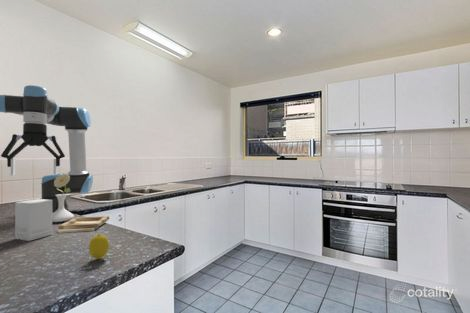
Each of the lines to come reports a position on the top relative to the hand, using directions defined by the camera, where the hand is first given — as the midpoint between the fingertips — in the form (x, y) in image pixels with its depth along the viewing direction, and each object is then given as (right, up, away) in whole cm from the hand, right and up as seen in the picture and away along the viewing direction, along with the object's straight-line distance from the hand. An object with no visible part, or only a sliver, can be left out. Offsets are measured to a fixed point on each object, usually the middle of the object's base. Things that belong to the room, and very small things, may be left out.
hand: (34, 174), depth 99 cm
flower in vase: (-7, -26, +25) cm, 37 cm away
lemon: (+40, -25, -23) cm, 53 cm away
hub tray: (+11, -26, +16) cm, 32 cm away
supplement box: (0, -26, 0) cm, 26 cm away
